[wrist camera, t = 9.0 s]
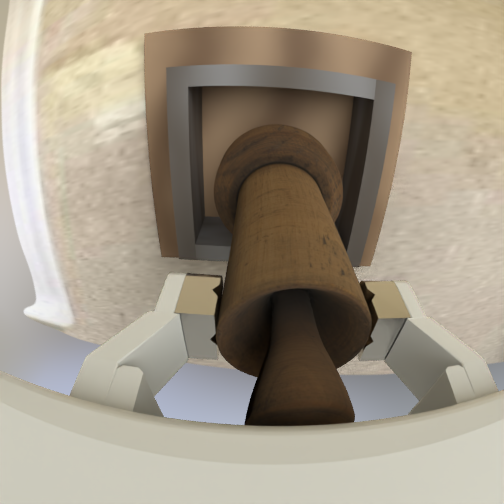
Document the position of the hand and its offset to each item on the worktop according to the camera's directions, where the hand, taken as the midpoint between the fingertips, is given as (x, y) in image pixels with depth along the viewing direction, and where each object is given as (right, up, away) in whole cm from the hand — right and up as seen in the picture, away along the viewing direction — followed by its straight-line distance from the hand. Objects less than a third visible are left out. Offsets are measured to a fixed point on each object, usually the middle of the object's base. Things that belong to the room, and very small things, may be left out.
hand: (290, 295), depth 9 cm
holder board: (0, +8, +12) cm, 15 cm away
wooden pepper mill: (0, +5, +8) cm, 10 cm away
